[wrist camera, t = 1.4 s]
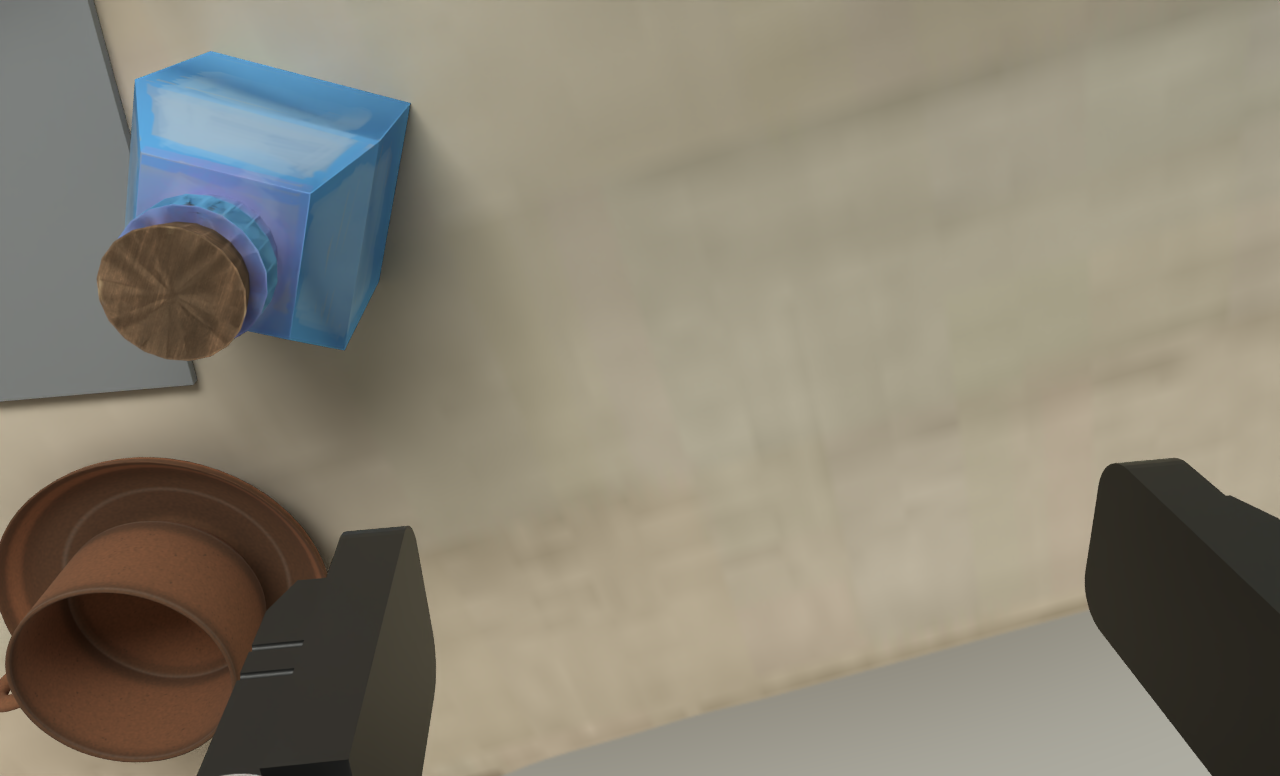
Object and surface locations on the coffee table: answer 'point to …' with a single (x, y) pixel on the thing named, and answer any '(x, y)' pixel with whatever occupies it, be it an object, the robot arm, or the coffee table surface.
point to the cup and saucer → (140, 602)
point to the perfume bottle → (250, 208)
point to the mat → (62, 208)
